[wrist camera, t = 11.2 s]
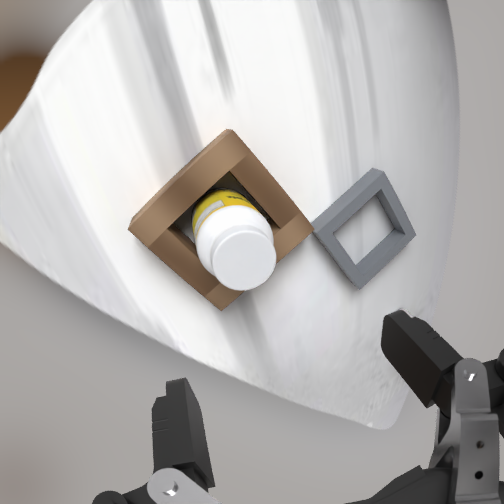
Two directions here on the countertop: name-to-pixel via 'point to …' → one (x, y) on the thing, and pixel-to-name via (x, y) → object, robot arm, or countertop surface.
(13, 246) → the countertop surface
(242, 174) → the socket block
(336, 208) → the holder
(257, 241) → the supplement bottle
